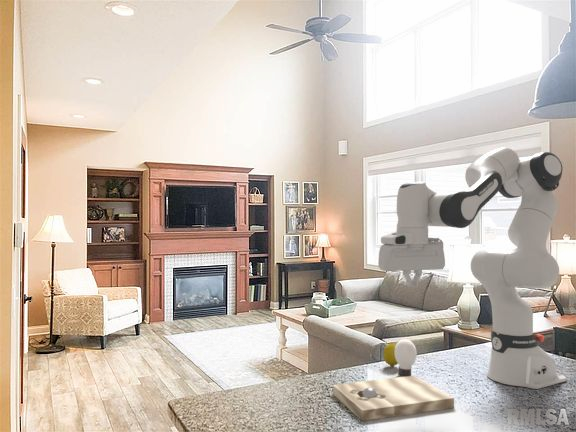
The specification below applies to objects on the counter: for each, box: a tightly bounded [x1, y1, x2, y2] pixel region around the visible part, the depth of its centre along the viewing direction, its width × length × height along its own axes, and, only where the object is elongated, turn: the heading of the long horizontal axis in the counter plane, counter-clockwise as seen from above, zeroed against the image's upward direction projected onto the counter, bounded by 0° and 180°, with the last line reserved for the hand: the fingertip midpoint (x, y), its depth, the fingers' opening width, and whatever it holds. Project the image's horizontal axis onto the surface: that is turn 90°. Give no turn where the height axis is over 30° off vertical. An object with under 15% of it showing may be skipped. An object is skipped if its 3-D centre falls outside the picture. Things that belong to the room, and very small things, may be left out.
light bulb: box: [394, 338, 418, 377], centre depth 145 cm, size 7×7×11 cm
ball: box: [362, 388, 377, 398], centre depth 122 cm, size 4×4×4 cm
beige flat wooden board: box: [332, 375, 455, 422], centre depth 124 cm, size 26×18×2 cm
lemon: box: [383, 341, 399, 368], centre depth 152 cm, size 6×6×8 cm
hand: (412, 285), depth 134 cm, fingers closed
